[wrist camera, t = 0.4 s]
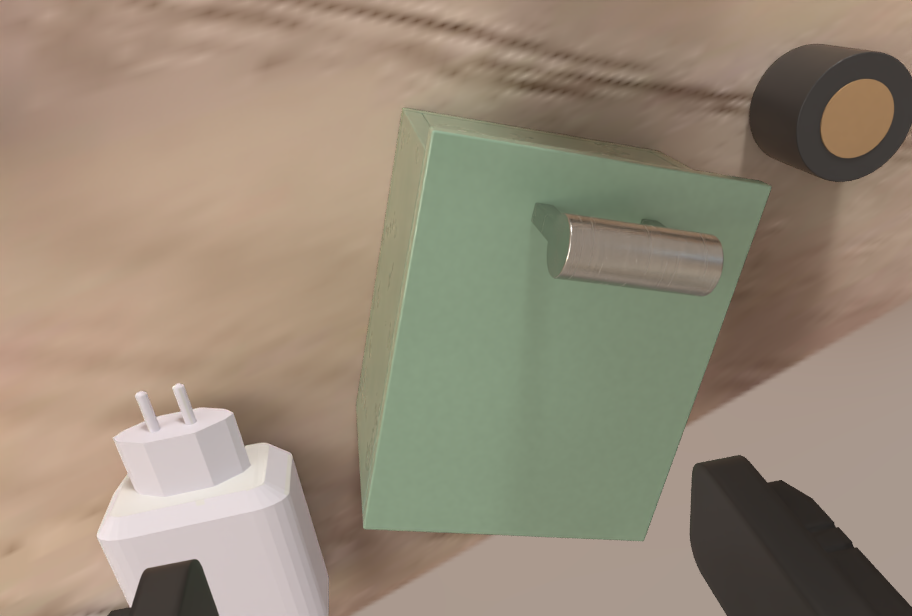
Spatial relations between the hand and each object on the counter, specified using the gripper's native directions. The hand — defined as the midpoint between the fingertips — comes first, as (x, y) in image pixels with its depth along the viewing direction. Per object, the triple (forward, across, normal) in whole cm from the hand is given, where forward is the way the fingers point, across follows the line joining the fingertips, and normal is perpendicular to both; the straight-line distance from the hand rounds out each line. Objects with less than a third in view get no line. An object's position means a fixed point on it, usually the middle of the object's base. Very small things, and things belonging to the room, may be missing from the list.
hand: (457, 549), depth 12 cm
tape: (+24, -21, 0) cm, 32 cm away
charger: (+24, +11, +15) cm, 31 cm away
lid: (+15, -6, +6) cm, 18 cm away
